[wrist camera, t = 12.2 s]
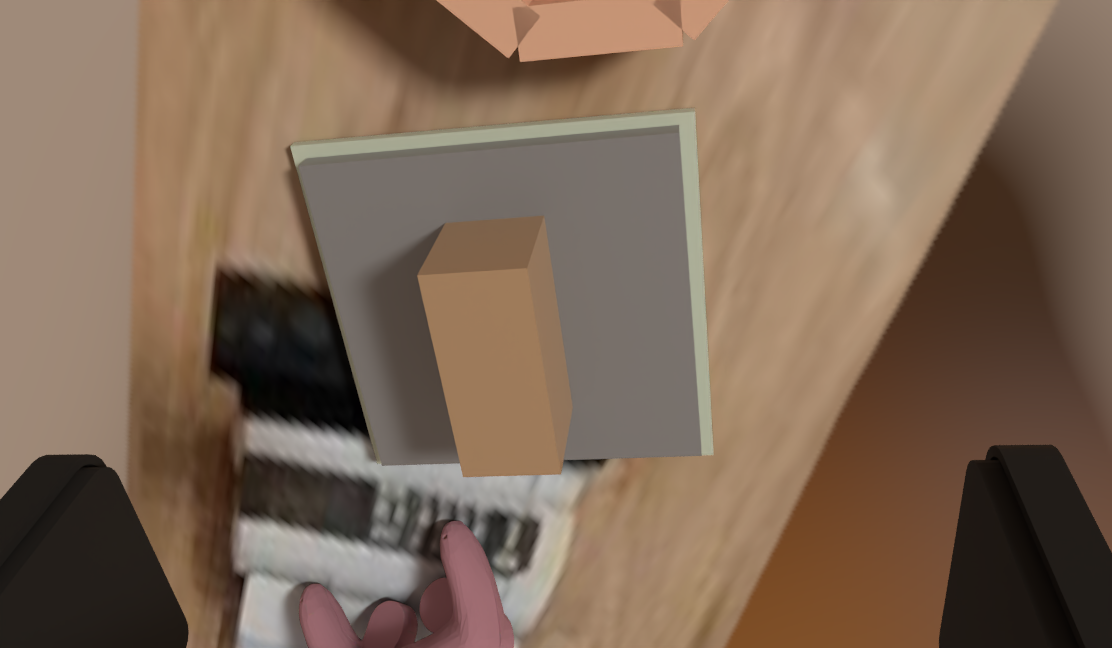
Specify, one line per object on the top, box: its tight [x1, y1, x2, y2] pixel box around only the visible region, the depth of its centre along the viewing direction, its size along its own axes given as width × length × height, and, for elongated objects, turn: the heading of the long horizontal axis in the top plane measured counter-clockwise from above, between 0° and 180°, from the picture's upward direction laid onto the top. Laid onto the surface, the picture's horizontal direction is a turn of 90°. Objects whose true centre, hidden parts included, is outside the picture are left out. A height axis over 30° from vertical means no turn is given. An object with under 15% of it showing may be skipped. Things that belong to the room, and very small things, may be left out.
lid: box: [298, 125, 702, 477], centre depth 33 cm, size 13×13×5 cm
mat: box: [290, 108, 713, 464], centre depth 35 cm, size 14×14×1 cm
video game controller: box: [299, 521, 514, 648], centre depth 42 cm, size 10×5×7 cm, turn 124°
